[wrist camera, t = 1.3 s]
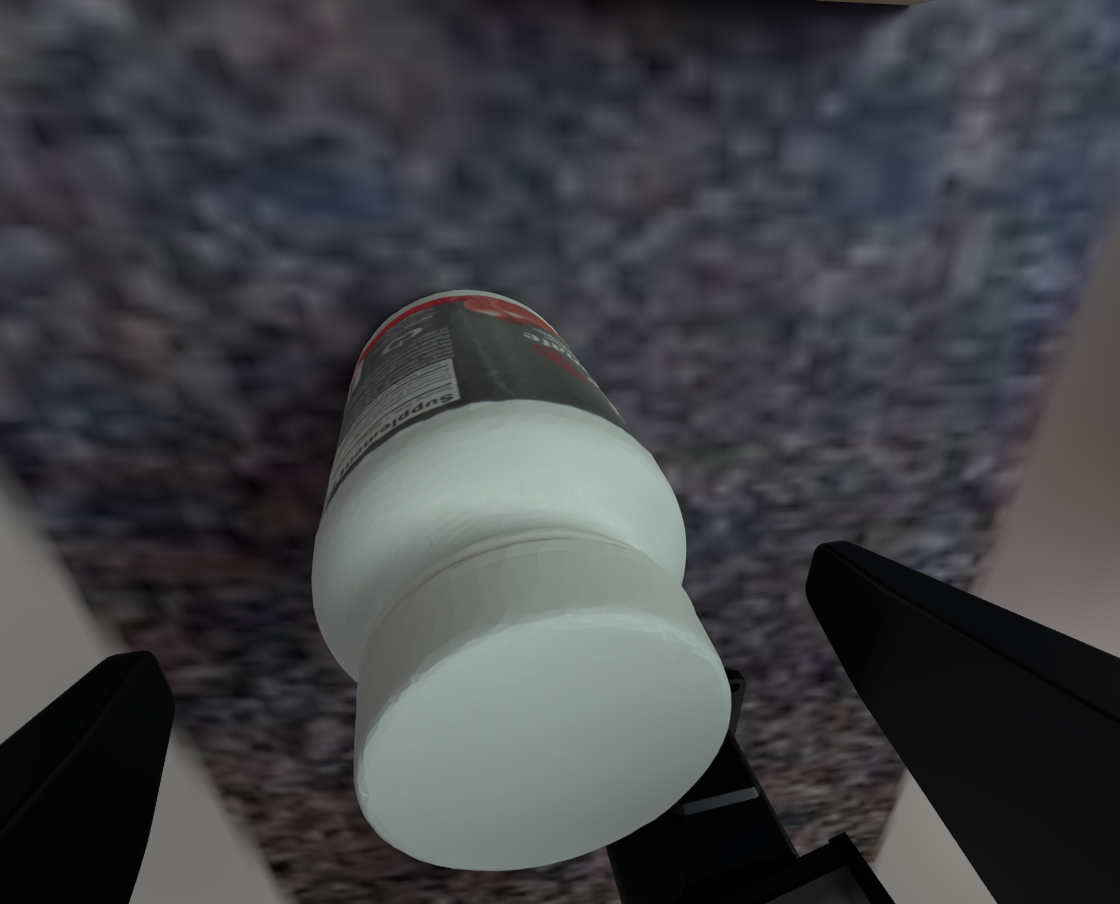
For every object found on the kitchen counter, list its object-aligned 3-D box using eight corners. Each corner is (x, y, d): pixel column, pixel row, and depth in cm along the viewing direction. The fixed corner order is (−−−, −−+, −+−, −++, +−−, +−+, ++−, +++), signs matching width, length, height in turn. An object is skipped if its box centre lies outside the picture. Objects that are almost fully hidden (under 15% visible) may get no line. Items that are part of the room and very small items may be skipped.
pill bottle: (615, 381, 15) (878, 695, 7) (478, 522, 16) (557, 942, 8) (452, 229, 12) (550, 436, 4) (302, 410, 14) (136, 860, 5)
